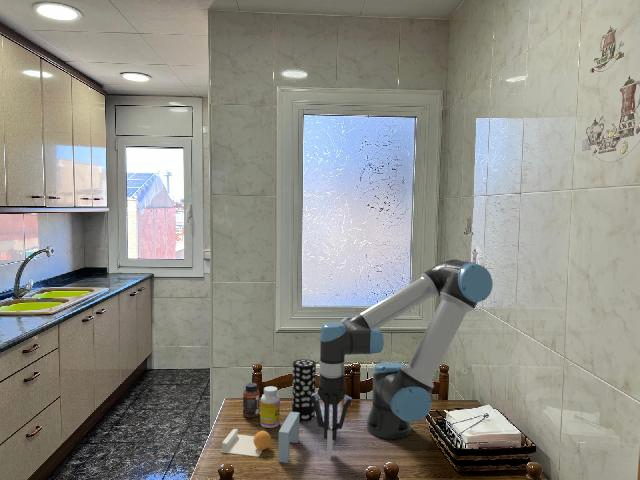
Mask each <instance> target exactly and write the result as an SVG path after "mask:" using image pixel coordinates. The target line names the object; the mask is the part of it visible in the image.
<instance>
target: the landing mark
mask: <svg viewBox="0 0 640 480" xmlns="http://www.w3.org/2000/svg"><path fill="white" fill-rule="evenodd" d="M254 437H255V435H247V434H239V433H238V436H237V438H236V439H235V440H234V442H233V443H232V444H231V445H230V447H229V448H228V449H227V451H224V450H222V449H221V451H220V452H221V453H223V454H230V455H231V454H232V455H238V456H239V455H240V456H248V457H257V458H259V457H260V455H261V454H262V452H263V451H264V450H259V449H257V448H256V447H255V445H254Z"/></svg>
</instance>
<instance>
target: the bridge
mask: <svg viewBox="0 0 640 480" xmlns="http://www.w3.org/2000/svg"><path fill="white" fill-rule="evenodd" d="M299 441H300V421H299V413H298V412H292V411H290V412H289V414H288V415H287V417H286V419H285V420H284V422H283V424H282V425H281V427H280V429H279V431H278V442H277V443H278V450H277V451H278V453H277V454H278V455H277V456H278V457H277V462H280V463H289V461H290V459H291V458H290V456H291V455H290V449H291V448H290V447H291V445H290V443H293V444H294V443H295V444H298V443H299Z"/></svg>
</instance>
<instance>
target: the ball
mask: <svg viewBox="0 0 640 480" xmlns="http://www.w3.org/2000/svg"><path fill="white" fill-rule="evenodd" d="M254 436H255V437H254V445H255V447H256V448H257V449H259V450H263V451H264V450H267V449H268V448H269V447H270V446H271V443H272V437H271V434H269V432H267V431H265V430H261V431H258V432H257V433H256V434H255V435H254Z"/></svg>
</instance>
